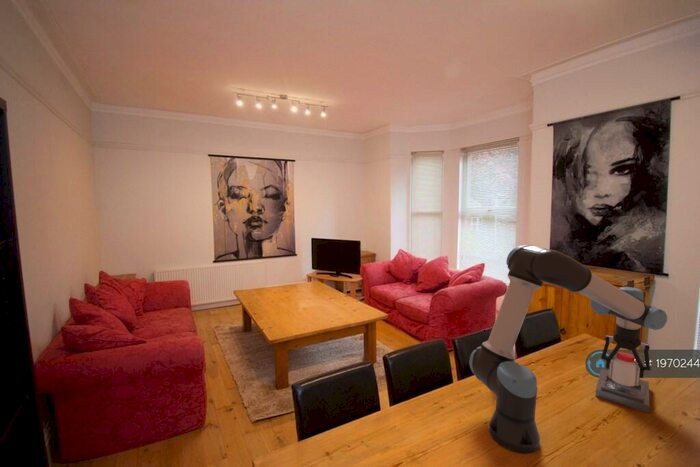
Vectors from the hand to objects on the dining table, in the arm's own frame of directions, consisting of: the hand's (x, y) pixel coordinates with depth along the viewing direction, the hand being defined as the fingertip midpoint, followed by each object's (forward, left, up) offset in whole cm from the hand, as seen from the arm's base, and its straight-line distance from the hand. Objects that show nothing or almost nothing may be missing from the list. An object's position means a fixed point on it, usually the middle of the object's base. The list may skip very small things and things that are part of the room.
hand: (623, 380), depth 133 cm
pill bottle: (0, 0, 0) cm, 0 cm away
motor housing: (+3, 0, -6) cm, 7 cm away
